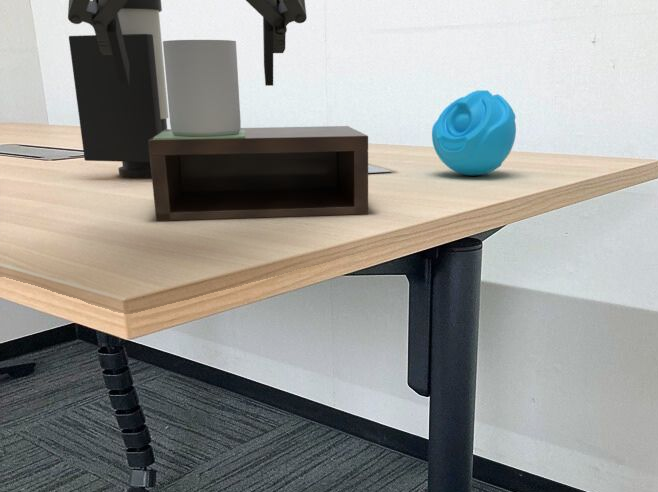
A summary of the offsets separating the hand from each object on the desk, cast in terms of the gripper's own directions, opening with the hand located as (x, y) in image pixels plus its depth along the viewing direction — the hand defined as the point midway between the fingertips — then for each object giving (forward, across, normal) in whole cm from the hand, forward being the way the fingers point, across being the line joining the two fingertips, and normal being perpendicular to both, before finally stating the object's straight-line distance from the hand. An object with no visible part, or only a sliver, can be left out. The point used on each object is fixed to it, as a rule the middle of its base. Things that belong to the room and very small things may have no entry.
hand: (197, 76), depth 72 cm
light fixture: (+37, -11, +17) cm, 42 cm away
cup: (+8, 0, 0) cm, 8 cm away
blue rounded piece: (+30, +37, +10) cm, 49 cm away
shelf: (+16, +6, -4) cm, 17 cm away
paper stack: (+41, +12, +21) cm, 48 cm away
